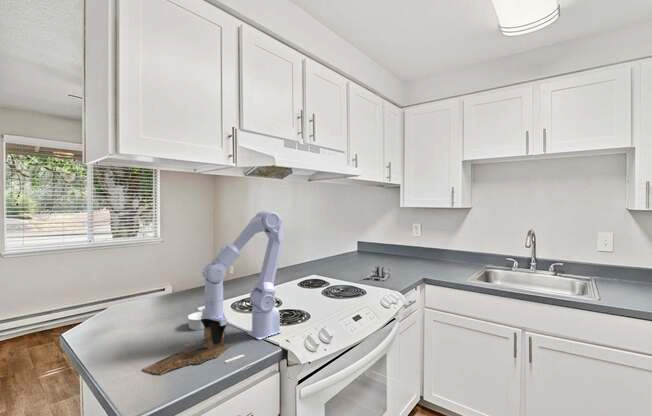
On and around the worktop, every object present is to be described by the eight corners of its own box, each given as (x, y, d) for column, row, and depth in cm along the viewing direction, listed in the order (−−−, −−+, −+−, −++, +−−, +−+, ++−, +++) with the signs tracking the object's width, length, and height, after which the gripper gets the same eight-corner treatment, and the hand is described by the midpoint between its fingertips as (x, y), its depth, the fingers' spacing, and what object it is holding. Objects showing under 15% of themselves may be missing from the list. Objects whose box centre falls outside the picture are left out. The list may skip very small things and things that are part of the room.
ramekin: (216, 326, 120) (216, 315, 120) (192, 333, 114) (192, 321, 113) (207, 320, 126) (207, 309, 126) (184, 326, 120) (184, 315, 120)
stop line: (242, 354, 97) (242, 354, 97) (244, 356, 96) (244, 355, 96) (224, 361, 92) (224, 360, 92) (226, 363, 92) (226, 362, 92)
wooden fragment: (144, 380, 83) (144, 376, 83) (139, 364, 92) (139, 360, 92) (239, 354, 98) (239, 350, 98) (227, 342, 107) (227, 339, 107)
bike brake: (373, 273, 210) (361, 284, 193) (373, 263, 209) (360, 273, 192) (393, 276, 203) (382, 287, 186) (393, 266, 202) (381, 276, 185)
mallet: (218, 341, 106) (218, 323, 106) (224, 345, 103) (224, 327, 103) (182, 352, 98) (182, 333, 98) (186, 357, 95) (186, 337, 95)
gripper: (193, 298, 105) (193, 338, 106) (211, 308, 95) (211, 352, 95) (213, 293, 110) (213, 332, 110) (233, 303, 100) (233, 345, 100)
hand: (214, 341), depth 103 cm, fingers closed on mallet, 4 cm apart
